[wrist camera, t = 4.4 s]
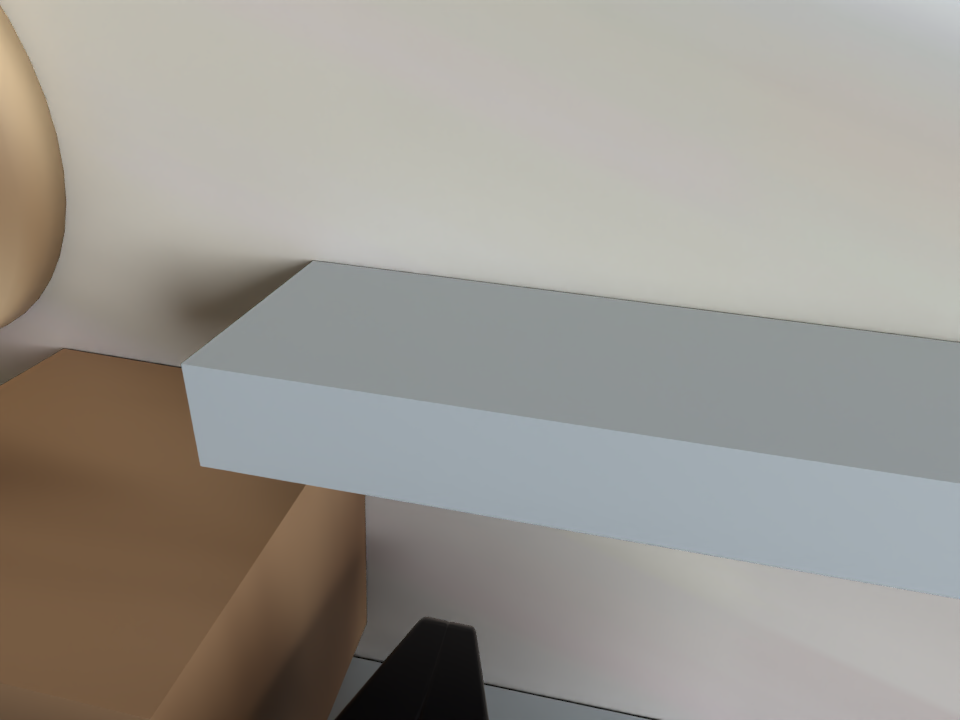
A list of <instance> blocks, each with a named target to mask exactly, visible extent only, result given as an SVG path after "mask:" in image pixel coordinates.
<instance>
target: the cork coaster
mask: <svg viewBox="0 0 960 720" xmlns="http://www.w3.org/2000/svg"><path fill="white" fill-rule="evenodd" d="M65 213H66V196H65V183H64V170H63V165H62V160H61V155H60V150H59V145H58V140H57V135H56V132H55V128H54V125H53V122H52V118H51V115H50V112H49V108H48V105H47V102H46V99H45V96H44V94H43V91H42V89H41V86H40V84H39V81H38V79H37V77H36V74H35V72H34V69H33V67H32V64H31V62H30V59H29V57H28V55H27V54H26V52H25V50H24V48H23V46H22V44H21V42H20V40H19V38H18V36H17V34H16V32H15V30H14V28H13V26H12V24H11V23H10V21H9V19H8V17H7V16H6V14H5V12H4V11H3V9H2V8H1V6H0V328H2V327H4V326H6V325H8V324H10V323H11V322H13V321H14V320H15V319H17V318H18V317H20V316H21V315H23V314H24V313H25V312H26V311H27V310H28V309H29V308H30V307H31V306H32V305H33V304H34V303H35V302H36V301H37V300H38V299H39V297H40V296H41V294H42V293H43V291H44V289H45V288H46V286H47V285H48V283H49V281H50V280H51V278H52V275H53V272H54V270H55V267H56V265H57V262H58V259H59V256H60V251H61V247H62V242H63V237H64V232H65Z"/></svg>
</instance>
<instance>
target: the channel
mask: <svg viewBox="0 0 960 720" xmlns="http://www.w3.org/2000/svg"><path fill="white" fill-rule="evenodd" d="M181 367H182V372H183V377H184V382H185V388H186V393H187V398H188V403H189V409H190V414H191V419H192V424H193V430H194V435H195V440H196V445H197V451H198V456H199V461H200V466H203V467H209V468H215V469H220V470H226V471H232V472H237V473H243V474H249V475H255V476H260V477H266V478H272V479H277V480H283V481H289V482H294V483H300V484H306V485H312V486H317V487H323V488H329V489H334V490H340V491H346V492H351V493H357V494H363V495H368V496H374V497H380V498H386V499H391V500H397V501H403V502H408V503H414V504H420V505H425V506H431V507H437V508H443V509H448V510H454V511H460V512H465V513H471V514H477V515H482V516H488V517H494V518H500V519H505V520H511V521H517V522H522V523H528V524H534V525H539V526H545V527H551V528H556V529H562V530H568V531H574V532H579V533H585V534H591V535H596V536H602V537H608V538H613V539H619V540H625V541H631V542H636V543H642V544H648V545H653V546H659V547H665V548H670V549H676V550H682V551H688V552H693V553H699V554H705V555H710V556H716V557H722V558H727V559H733V560H739V561H744V562H750V563H756V564H762V565H767V566H773V567H779V568H784V569H790V570H796V571H801V572H807V573H813V574H819V575H824V576H830V577H836V578H841V579H847V580H853V581H858V582H864V583H870V584H876V585H881V586H887V587H893V588H898V589H904V590H910V591H915V592H921V593H927V594H933V595H938V596H944V597H950V598H955V599H960V343H958V342H950V341H942V340H934V339H927V338H919V337H911V336H903V335H895V334H887V333H879V332H871V331H864V330H856V329H848V328H840V327H832V326H824V325H816V324H808V323H800V322H793V321H785V320H777V319H769V318H761V317H753V316H745V315H737V314H730V313H722V312H714V311H706V310H698V309H690V308H682V307H674V306H667V305H659V304H651V303H643V302H635V301H627V300H619V299H611V298H603V297H596V296H588V295H580V294H572V293H564V292H556V291H548V290H540V289H533V288H525V287H517V286H509V285H501V284H493V283H485V282H477V281H470V280H462V279H454V278H446V277H438V276H430V275H422V274H414V273H406V272H399V271H391V270H383V269H375V268H367V267H359V266H351V265H343V264H336V263H328V262H320V261H312V262H311V263H310V264H308V265H307V266H306V267H304V268H303V269H302V270H301V271H299V272H298V273H297V274H295V275H294V276H293V277H292V278H290V279H289V280H288V281H287V282H285V283H284V284H283V285H281V286H280V287H279V288H278V289H276V290H275V291H274V292H272V293H271V294H270V295H269V296H267V297H266V298H265V299H264V300H262V301H261V302H260V303H258V304H257V305H256V306H255V307H253V308H252V309H251V310H249V311H248V312H247V313H246V314H244V315H243V316H242V317H240V318H239V319H238V320H237V321H235V322H234V323H233V324H232V325H230V326H229V327H228V328H226V329H225V330H224V331H223V332H221V333H220V334H219V335H217V336H216V337H215V338H214V339H212V340H211V341H210V342H209V343H207V344H206V345H205V346H203V347H202V348H201V349H200V350H198V351H197V352H196V353H194V354H193V355H192V356H191V357H189V358H188V359H187V360H185V361H184V362H183V363H182V364H181ZM381 664H382V663H379V662H374V661H370V660H365V659H360V658H355V657H353V658H352V660H351V663H350V665H349V668H348V670H347V673H346V675H345V678H344V680H343V682H342V685H341V687H340V690H339V692H338V695H337V697H336V700H335V702H334V705H333V707H332V710H331V712H330V714H329V717H328V719H327V720H334V719H335V718H336V717H337V716H338V715H339V713H340V712H341V711H342V710H343V709H344V708H345V706H346V705H347V704H348V703H349V702H350V701H351V699H352V698H353V697H354V696H355V695H356V694H357V692H358V691H359V690H360V689H361V688H362V687H363V685H364V684H365V683H366V682H367V681H368V680H369V678H370V677H371V676H372V675H373V674H374V673H375V671H376V670H377V669H378V668H379V667H380V666H381ZM484 689H485V696H486V702H487V709H488V716H489V720H650V719H645V718H640V717H635V716H631V715H626V714H621V713H616V712H612V711H607V710H602V709H597V708H593V707H588V706H583V705H578V704H574V703H569V702H564V701H559V700H555V699H550V698H545V697H540V696H536V695H531V694H526V693H521V692H517V691H512V690H507V689H502V688H498V687H493V686H488V685H484Z"/></svg>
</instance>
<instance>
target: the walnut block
mask: <svg viewBox="0 0 960 720" xmlns="http://www.w3.org/2000/svg"><path fill="white" fill-rule="evenodd" d="M366 623H367V589H366V528H365V495H363V494H357V493H351V492H346V491H340V490H334V489H329V488H323V487H317V486H312V485H306V484H300V483H294V482H289V481H283V480H277V479H272V478H266V477H260V476H255V475H249V474H243V473H237V472H232V471H226V470H220V469H215V468H209V467H203V466H200V461H199V456H198V451H197V445H196V440H195V435H194V430H193V424H192V419H191V414H190V409H189V403H188V398H187V393H186V388H185V382H184V377H183V372H182V368H177V367H171V366H165V365H159V364H153V363H147V362H141V361H135V360H129V359H123V358H117V357H111V356H105V355H99V354H93V353H87V352H81V351H75V350H69V349H62V350H61V351H59V352H57V353H55V354H54V355H52V356H50V357H49V358H47V359H45V360H43V361H42V362H40V363H38V364H37V365H35V366H33V367H32V368H30V369H28V370H26V371H25V372H23V373H21V374H20V375H18V376H16V377H14V378H13V379H11V380H9V381H8V382H6V383H4V384H2V385H1V386H0V720H327V719H328V717H329V714H330V712H331V710H332V707H333V705H334V702H335V700H336V697H337V695H338V692H339V690H340V687H341V685H342V682H343V680H344V678H345V675H346V673H347V670H348V668H349V665H350V663H351V660H352V658H353V655H354V653H355V651H356V648H357V646H358V643H359V641H360V638H361V636H362V633H363V631H364V628H365V626H366Z"/></svg>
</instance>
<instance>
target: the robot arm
mask: <svg viewBox="0 0 960 720" xmlns="http://www.w3.org/2000/svg"><path fill="white" fill-rule="evenodd" d="M334 720H489V716H488V709H487V702H486V696H485V689H484V682H483V675H482V669H481V662H480V655H479V648H478V642H477V635H476V630H475V629H474V627H473V626H469V625H465V624H460V623H455V622H448V621H446V620H441V619H436V618H431V617H423V618H422V619H421V620H419V621H418V622H417V624H416V625H415V626H414V627H413V628H412V629H411V631H410V632H409V633H408V634H407V635H406V636H405V638H404V639H403V640H402V641H401V642H400V643H399V645H398V646H397V647H396V648H395V649H394V650H393V652H392V653H391V654H390V655H389V656H388V657H387V659H386V660H385V661H384V662H383V663H382V664H381V666H380V667H379V668H378V669H377V670H376V671H375V673H374V674H373V675H372V676H371V677H370V678H369V680H368V681H367V682H366V683H365V684H364V685H363V687H362V688H361V689H360V690H359V691H358V692H357V694H356V695H355V696H354V697H353V698H352V699H351V701H350V702H349V703H348V704H347V705H346V706H345V708H344V709H343V710H342V711H341V712H340V713H339V715H338V716H337V717H336V718H335V719H334Z"/></svg>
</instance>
